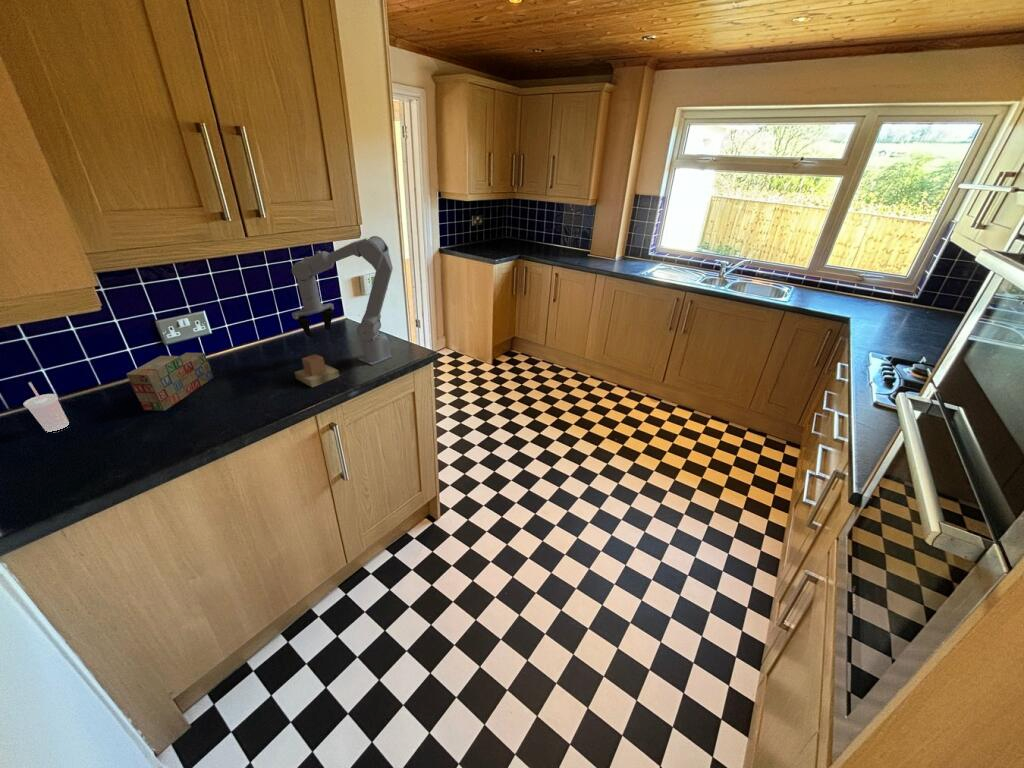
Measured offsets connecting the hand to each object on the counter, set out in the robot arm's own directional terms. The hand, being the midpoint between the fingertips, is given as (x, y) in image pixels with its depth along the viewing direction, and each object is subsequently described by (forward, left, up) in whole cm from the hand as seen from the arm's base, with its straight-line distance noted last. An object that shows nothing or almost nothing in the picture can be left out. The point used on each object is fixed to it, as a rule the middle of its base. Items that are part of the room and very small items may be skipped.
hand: (318, 332), depth 146 cm
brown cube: (+10, +12, -8) cm, 18 cm away
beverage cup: (+69, -16, -11) cm, 72 cm away
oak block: (+10, +12, -11) cm, 19 cm away
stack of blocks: (+42, -12, -11) cm, 45 cm away
